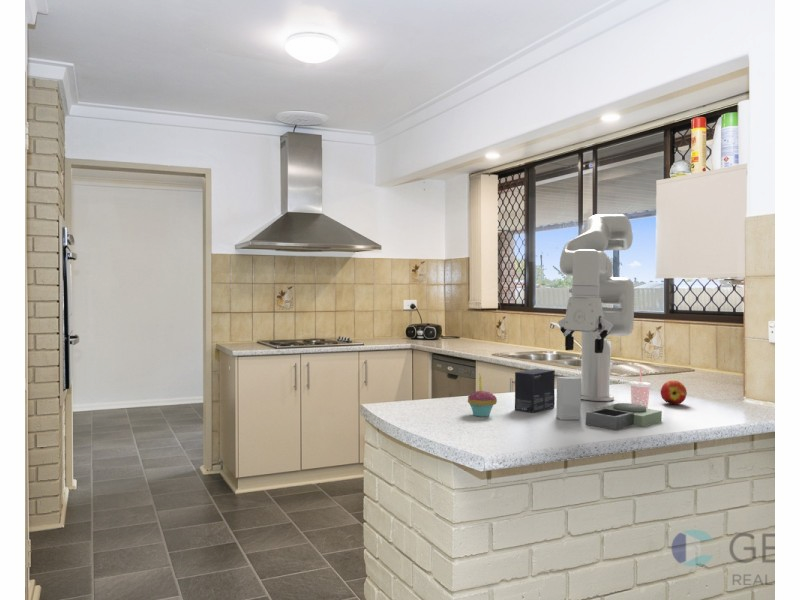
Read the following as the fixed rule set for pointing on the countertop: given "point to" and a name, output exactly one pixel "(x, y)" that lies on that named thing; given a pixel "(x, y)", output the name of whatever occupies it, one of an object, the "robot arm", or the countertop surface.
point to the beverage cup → (640, 392)
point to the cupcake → (481, 401)
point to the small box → (534, 390)
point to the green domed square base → (638, 413)
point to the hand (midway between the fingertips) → (583, 351)
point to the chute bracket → (610, 418)
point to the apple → (673, 392)
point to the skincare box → (568, 398)
